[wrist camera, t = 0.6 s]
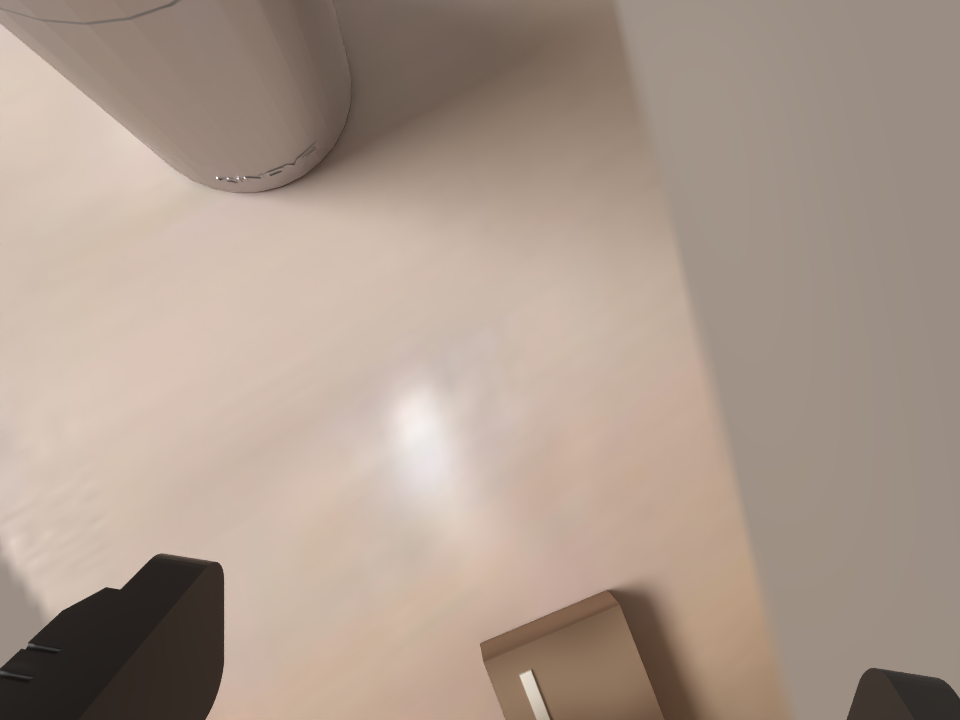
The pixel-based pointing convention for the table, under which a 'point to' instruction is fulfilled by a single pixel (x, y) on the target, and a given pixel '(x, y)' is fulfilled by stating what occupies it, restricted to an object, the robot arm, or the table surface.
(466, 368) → the table surface
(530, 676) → the walnut board
